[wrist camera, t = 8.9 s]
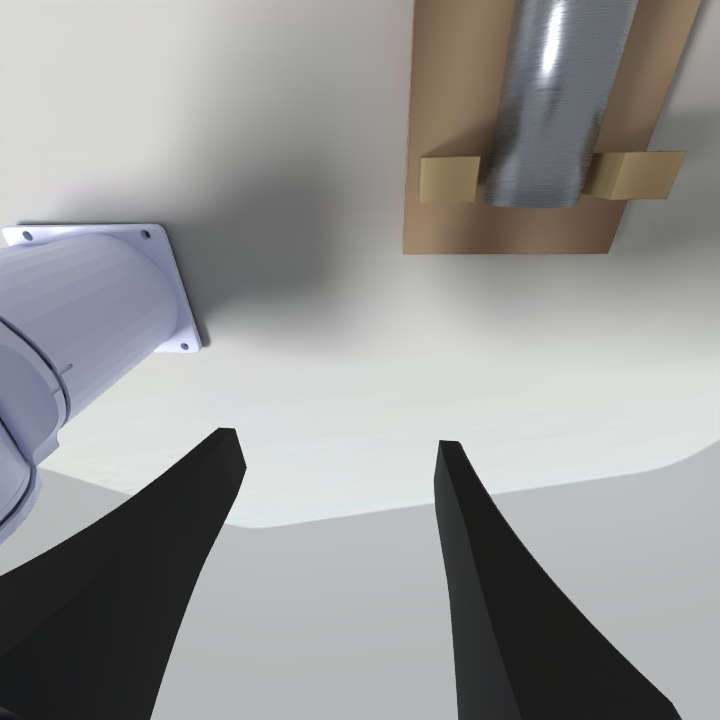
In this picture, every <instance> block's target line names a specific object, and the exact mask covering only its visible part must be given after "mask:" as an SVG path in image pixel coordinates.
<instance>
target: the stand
mask: <svg viewBox="0 0 720 720" xmlns="http://www.w3.org/2000/svg"><path fill="white" fill-rule="evenodd" d="M514 2H515V0H414V6H413V29H412V52H411V74H410V97H409V120H408V143H407V165H406V188H405V211H404V234H403V254H608V252H609V249H610V247H611V244H612V241H613V238H614V236H615V233H616V230H617V228H618V225H619V222H620V219H621V217H622V214H623V211H624V209H625V206H626V203H627V200H628V199H667V197H668V194H669V192H670V189H671V187H672V185H673V182H674V180H675V178H676V175H677V173H678V171H679V168H680V166H681V164H682V161H683V159H684V156H685V154H686V152H687V151H650V152H645V151H646V149H647V146H648V143H649V141H650V138H651V135H652V132H653V130H654V127H655V124H656V122H657V119H658V116H659V113H660V111H661V108H662V105H663V103H664V100H665V97H666V94H667V92H668V89H669V86H670V84H671V81H672V78H673V75H674V73H675V70H676V67H677V65H678V62H679V59H680V56H681V54H682V51H683V48H684V46H685V43H686V40H687V37H688V35H689V32H690V29H691V27H692V24H693V21H694V18H695V16H696V13H697V10H698V8H699V5H700V2H701V0H639V1H638V5H637V8H636V11H635V15H634V18H633V22H632V25H631V28H630V32H629V35H628V38H627V42H626V45H625V48H624V52H623V55H622V58H621V62H620V65H619V68H618V72H617V75H616V79H615V82H614V85H613V89H612V92H611V95H610V99H609V102H608V105H607V109H606V112H605V115H604V119H603V122H602V126H601V129H600V132H599V136H598V139H597V142H596V146H595V149H594V152H593V156H592V159H591V162H590V166H589V169H588V173H587V176H586V179H585V183H584V186H583V189H582V193H581V196H580V199H579V203H578V205H576V206H572V207H564V208H512V207H501V206H494V205H488V204H485V203H483V198H484V192H485V185H486V179H487V173H488V166H489V160H490V154H491V147H492V141H493V135H494V128H495V122H496V116H497V109H498V103H499V97H500V90H501V84H502V78H503V71H504V65H505V59H506V52H507V46H508V40H509V33H510V27H511V21H512V14H513V8H514Z"/></svg>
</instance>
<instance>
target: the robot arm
mask: <svg viewBox="0 0 720 720" xmlns="http://www.w3.org/2000/svg"><path fill="white" fill-rule="evenodd" d="M145 230H146V231H148V232H149V234H150V238H149V237H147V236H146V234H145ZM29 233H30V234H31V235H32V237H31V235H30V234H29ZM3 235H4V237H5V239H6V240H7V242H8V244H9V246H10V247H6V248H2V249H0V545H1V544H2V543H3V542H4V541H5V540H6V539H7V538H8V537H9V536H10V535H11V534H12V533H13V532H14V531H15V530H16V529H17V528H18V527H19V526H20V525H21V523H22V522H23V521H24V520H25V519H26V517H27V516H28V514H29V513H30V512H31V510H32V509H33V507H34V505H35V503H36V501H37V499H38V497H39V494H40V489H41V475H40V472H39V470H38V468H37V466H38V465H39V464H40V463H41V462H42V461H43V460H44V459H46V458H47V457H48V456H49V455H50V454H51V453H52V452H53V451H55V450H56V449H57V448H58V447H59V443H58V440H57V432H58V431H59V429H60V428H62V427H63V426H64V425H65V424H66V423H68V422H69V421H70V420H71V419H72V418H74V417H75V416H76V415H77V414H79V413H80V412H81V411H82V410H83V409H85V408H86V407H87V406H88V405H89V404H91V403H92V402H93V401H94V400H95V399H97V398H98V397H99V396H100V395H101V394H103V393H104V392H105V391H106V390H107V389H109V388H110V387H111V386H112V385H113V384H115V383H116V382H117V381H118V380H119V379H121V378H122V377H123V376H124V375H125V374H127V373H128V372H129V371H130V370H132V369H133V368H134V367H135V366H136V365H138V364H139V363H140V362H141V361H142V360H144V359H145V358H146V357H147V356H148V355H150V354H151V353H152V352H177V353H197V352H198V351H200V349H201V348H202V343H201V340H200V337H199V334H198V331H197V328H196V325H195V321H194V318H193V315H192V312H191V309H190V306H189V303H188V300H187V296H186V293H185V290H184V287H183V284H182V281H181V278H180V274H179V271H178V268H177V265H176V262H175V259H174V256H173V253H172V249H171V246H170V243H169V240H168V237H167V234H166V232H165V230H164V229H163V227H162V226H160V225H158V224H94V225H12V226H7V227H4V228H3ZM184 343H185V344H187V345H188V347H187V346H185V344H184ZM246 468H247V467H246V463H245V460H244V457H243V454H242V450H241V447H240V444H239V440H238V437H237V434H236V430H235V429H234V428H218V429H217V430H215V431H214V432H213V433H212V434H210V435H209V436H208V437H207V438H205V439H204V440H203V441H202V442H201V443H200V444H198V445H197V446H196V447H195V448H194V449H192V450H191V451H190V452H189V453H188V454H186V455H185V456H184V457H183V458H182V459H180V460H179V461H178V462H177V463H175V464H174V465H173V466H172V467H171V468H169V469H168V470H167V471H166V472H164V473H163V474H162V475H161V476H159V477H158V478H157V479H155V480H154V481H153V482H151V483H150V484H149V485H147V486H146V487H145V488H143V489H142V490H141V491H140V492H138V493H137V494H136V495H134V496H133V497H131V498H130V499H129V500H127V501H126V502H125V503H123V504H122V505H120V506H119V507H118V508H116V509H114V510H113V511H111V512H110V513H108V514H107V515H105V516H104V517H103V518H101V519H99V520H98V521H96V522H95V523H93V524H92V525H90V526H88V527H87V528H85V529H83V530H82V531H80V532H78V533H77V534H75V535H73V536H72V537H70V538H69V539H67V540H65V541H64V542H62V543H60V544H58V545H57V546H55V547H53V548H52V549H50V550H48V551H46V552H45V553H43V554H41V555H39V556H37V557H35V558H34V559H32V560H30V561H28V562H26V563H24V564H23V565H21V566H19V567H17V568H15V569H13V570H11V571H9V572H7V573H6V574H4V575H2V576H0V720H150V718H151V715H152V712H153V708H154V705H155V702H156V698H157V695H158V692H159V688H160V685H161V682H162V678H163V675H164V672H165V669H166V666H167V663H168V660H169V657H170V654H171V651H172V648H173V645H174V642H175V639H176V636H177V633H178V630H179V627H180V625H181V622H182V619H183V616H184V613H185V611H186V608H187V605H188V603H189V600H190V597H191V595H192V592H193V589H194V587H195V584H196V582H197V579H198V577H199V574H200V572H201V569H202V567H203V565H204V563H205V560H206V558H207V556H208V554H209V552H210V550H211V548H212V546H213V544H214V542H215V540H216V538H217V536H218V534H219V532H220V530H221V528H222V526H223V524H224V522H225V520H226V518H227V515H228V513H229V511H230V509H231V507H232V505H233V503H234V501H235V499H236V497H237V494H238V492H239V489H240V486H241V483H242V480H243V477H244V474H245V471H246ZM434 494H435V508H436V516H437V521H438V528H439V535H440V540H441V546H442V553H443V558H444V564H445V570H446V576H447V583H448V591H449V598H450V610H451V622H452V634H453V648H454V661H455V675H456V690H457V706H458V720H682V719H681V717H680V715H679V714H678V712H677V710H676V709H675V707H674V705H673V704H672V702H671V701H670V700H669V699H668V698H667V697H665V696H664V695H663V694H662V693H661V692H660V691H659V690H658V689H657V688H656V687H655V686H654V685H653V684H652V683H651V682H650V681H649V680H648V679H646V678H645V677H644V676H643V675H642V674H641V673H640V672H639V671H638V670H637V669H636V668H635V667H634V666H633V665H632V664H631V663H630V662H629V661H628V660H627V659H626V658H625V657H624V656H623V655H622V654H621V653H620V652H619V651H618V650H617V649H616V648H615V647H614V646H613V645H612V644H611V643H610V642H609V641H608V640H607V639H606V638H605V637H604V636H603V635H602V634H601V633H600V632H599V631H598V630H597V629H596V628H595V627H594V626H593V625H592V624H591V623H590V621H589V620H588V619H587V618H586V617H585V616H584V615H583V614H582V613H581V612H580V610H579V609H578V608H577V607H576V606H575V605H574V604H573V603H572V602H571V600H570V599H569V598H568V597H567V596H566V595H565V594H564V593H563V592H562V591H561V590H560V588H559V587H558V586H557V585H556V584H555V583H554V582H553V580H552V579H551V578H550V577H549V576H548V574H547V573H546V572H545V571H544V570H543V568H542V567H541V566H540V565H539V564H538V563H537V561H536V560H535V559H534V558H533V556H532V555H531V554H530V552H529V551H528V550H527V549H526V547H525V546H524V545H523V543H522V542H521V541H520V539H519V538H518V537H517V535H516V534H515V533H514V531H513V530H512V528H511V527H510V526H509V524H508V523H507V521H506V520H505V519H504V517H503V516H502V514H501V513H500V511H499V510H498V509H497V507H496V505H495V504H494V502H493V501H492V499H491V497H490V496H489V494H488V492H487V491H486V489H485V488H484V486H483V484H482V483H481V481H480V479H479V478H478V476H477V474H476V472H475V471H474V469H473V467H472V465H471V463H470V461H469V460H468V458H467V456H466V454H465V452H464V450H463V447H462V445H461V444H460V443H459V442H458V441H444V440H440V441H439V447H438V454H437V461H436V468H435V475H434Z"/></svg>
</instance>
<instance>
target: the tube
mask: <svg viewBox="0 0 720 720" xmlns="http://www.w3.org/2000/svg"><path fill="white" fill-rule="evenodd" d="M638 1H639V0H515V2H514V8H513V14H512V21H511V27H510V33H509V40H508V46H507V52H506V59H505V65H504V71H503V78H502V84H501V90H500V97H499V103H498V109H497V116H496V122H495V128H494V135H493V141H492V147H491V154H490V160H489V166H488V173H487V179H486V185H485V192H484V198H483V203H485V204H488V205H494V206H501V207H512V208H564V207H572V206H576V205H578V203H579V199H580V196H581V193H582V189H583V186H584V183H585V179H586V176H587V173H588V169H589V166H590V162H591V159H592V156H593V152H594V149H595V146H596V142H597V139H598V136H599V132H600V129H601V126H602V122H603V119H604V115H605V112H606V109H607V105H608V102H609V99H610V95H611V92H612V89H613V85H614V82H615V79H616V75H617V72H618V68H619V65H620V62H621V58H622V55H623V52H624V48H625V45H626V42H627V38H628V35H629V32H630V28H631V25H632V22H633V18H634V15H635V11H636V8H637V5H638Z"/></svg>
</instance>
